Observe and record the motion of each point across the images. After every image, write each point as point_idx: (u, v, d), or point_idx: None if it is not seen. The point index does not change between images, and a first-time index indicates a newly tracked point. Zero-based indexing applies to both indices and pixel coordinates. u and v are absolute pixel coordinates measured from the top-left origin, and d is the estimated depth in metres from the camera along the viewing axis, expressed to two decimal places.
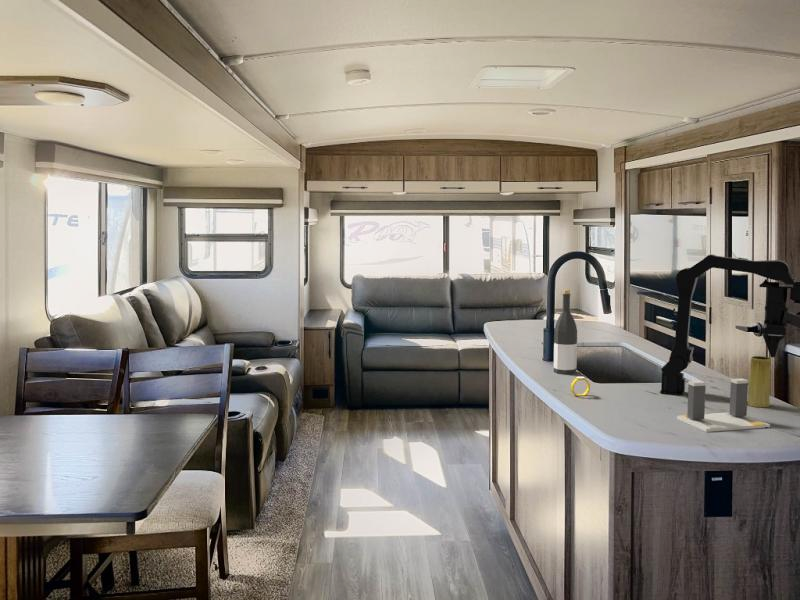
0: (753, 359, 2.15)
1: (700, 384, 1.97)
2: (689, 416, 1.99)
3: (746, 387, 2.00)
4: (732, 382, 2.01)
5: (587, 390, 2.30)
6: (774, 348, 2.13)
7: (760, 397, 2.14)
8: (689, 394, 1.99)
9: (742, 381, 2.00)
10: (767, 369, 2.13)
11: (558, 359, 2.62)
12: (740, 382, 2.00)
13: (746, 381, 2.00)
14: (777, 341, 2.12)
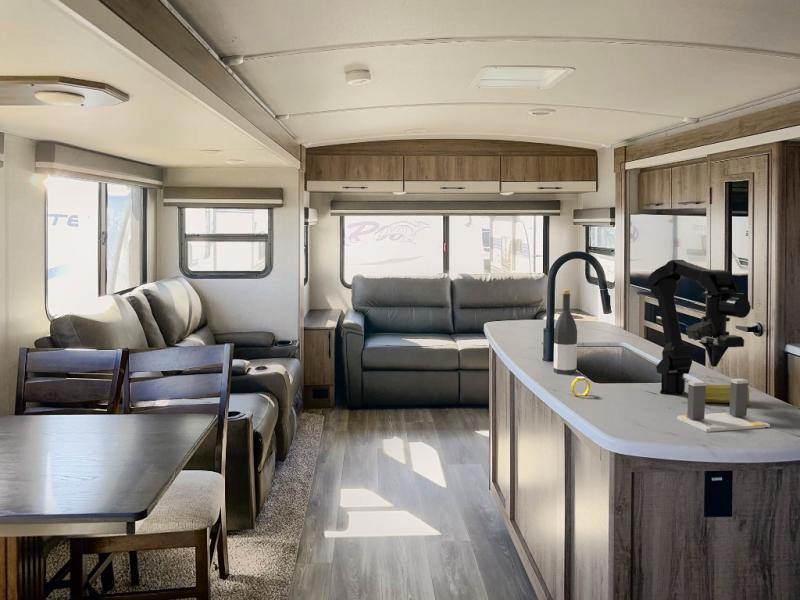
0: None
1: (700, 384, 1.97)
2: (689, 416, 1.99)
3: (746, 387, 2.00)
4: (732, 382, 2.01)
5: (587, 390, 2.30)
6: None
7: None
8: (689, 394, 1.99)
9: (742, 381, 2.00)
10: (707, 390, 2.18)
11: (558, 359, 2.62)
12: (740, 382, 2.00)
13: (746, 381, 2.00)
14: None
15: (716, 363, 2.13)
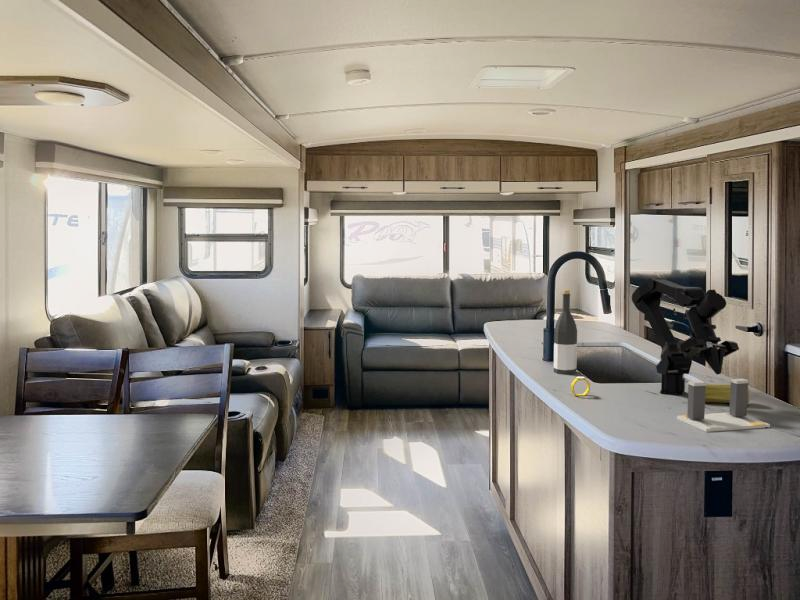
0: None
1: (700, 384, 1.97)
2: (689, 416, 1.99)
3: (746, 387, 2.00)
4: (732, 382, 2.01)
5: (587, 390, 2.30)
6: None
7: None
8: (689, 394, 1.99)
9: (742, 381, 2.00)
10: (707, 390, 2.18)
11: (558, 359, 2.62)
12: (740, 382, 2.00)
13: (746, 381, 2.00)
14: None
15: (716, 370, 2.10)
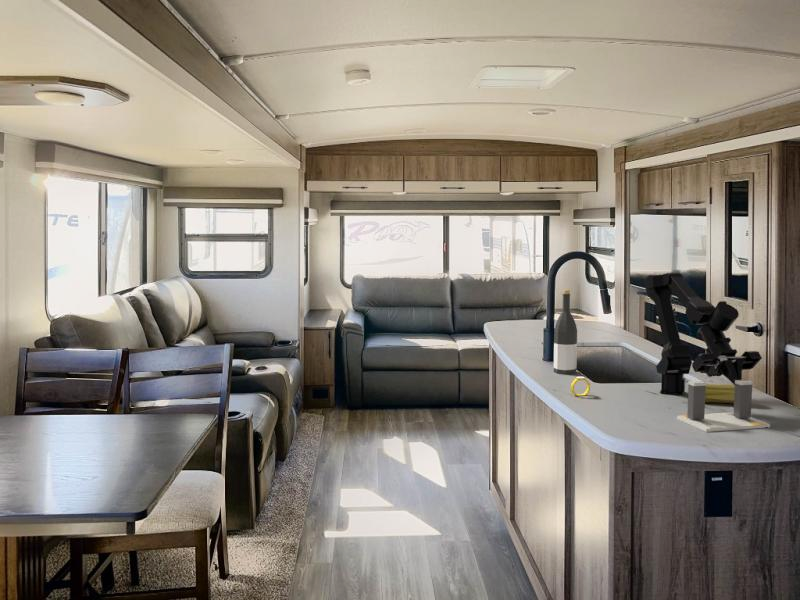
0: None
1: (700, 384, 1.97)
2: (689, 416, 1.99)
3: (750, 388, 1.98)
4: (736, 383, 1.99)
5: (587, 390, 2.30)
6: None
7: None
8: (689, 394, 1.99)
9: (746, 382, 1.98)
10: (707, 390, 2.18)
11: (558, 359, 2.62)
12: (744, 383, 1.98)
13: (750, 382, 1.98)
14: None
15: None
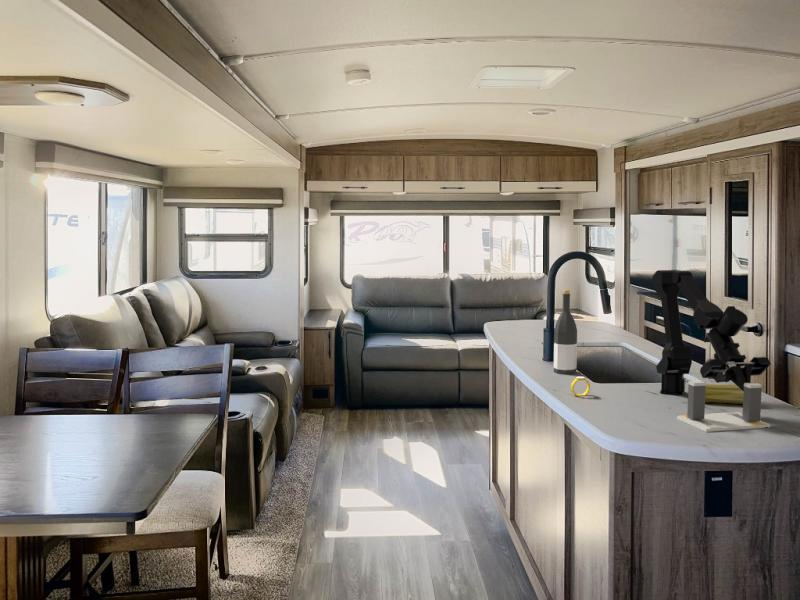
0: None
1: (700, 384, 1.97)
2: (689, 416, 1.99)
3: (760, 392, 1.95)
4: (745, 386, 1.96)
5: (587, 390, 2.30)
6: None
7: (737, 396, 2.16)
8: (689, 394, 1.99)
9: (756, 385, 1.94)
10: (707, 390, 2.18)
11: (558, 359, 2.62)
12: (754, 386, 1.94)
13: (760, 385, 1.95)
14: None
15: None
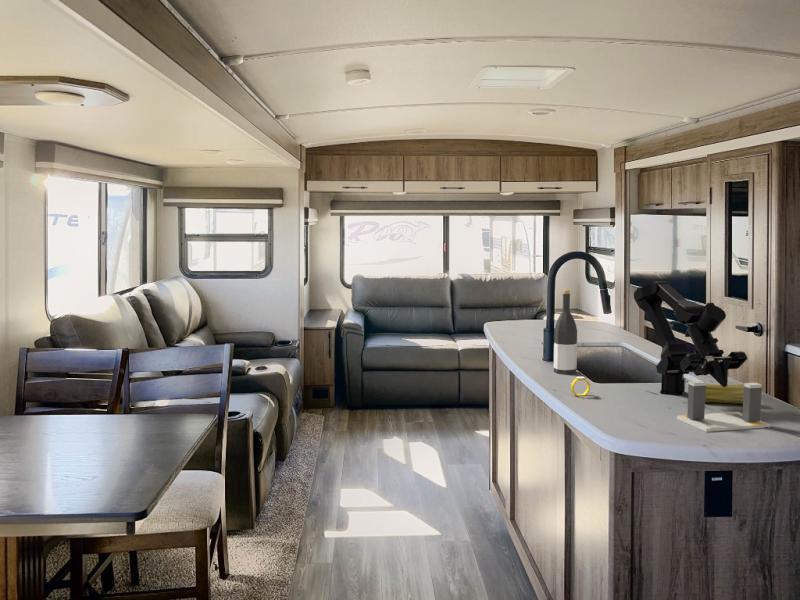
0: None
1: (700, 384, 1.97)
2: (689, 416, 1.99)
3: (760, 392, 1.95)
4: (745, 386, 1.96)
5: (587, 390, 2.30)
6: None
7: (737, 396, 2.16)
8: (689, 394, 1.99)
9: (756, 385, 1.94)
10: (707, 390, 2.18)
11: (558, 359, 2.62)
12: (754, 386, 1.94)
13: (760, 385, 1.95)
14: None
15: (722, 382, 2.07)
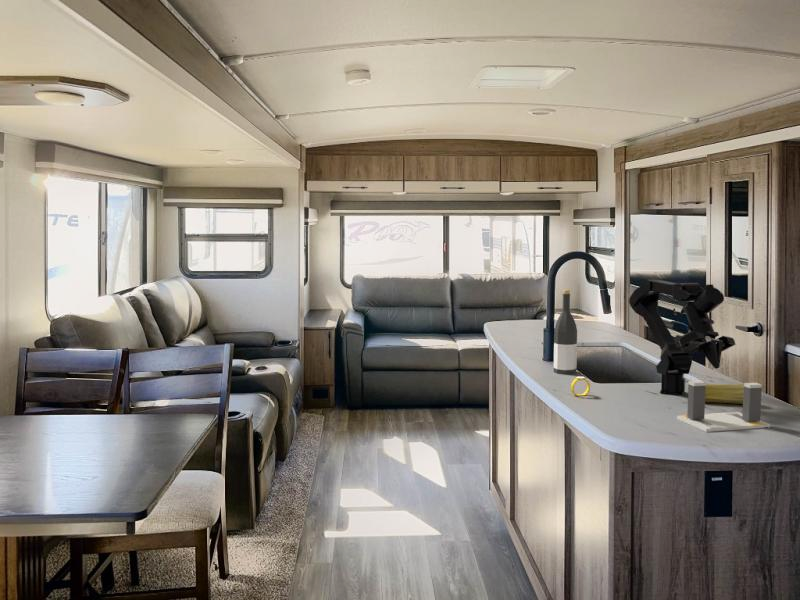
0: None
1: (700, 384, 1.97)
2: (689, 416, 1.99)
3: (760, 392, 1.95)
4: (745, 386, 1.96)
5: (587, 390, 2.30)
6: None
7: (737, 396, 2.16)
8: (689, 394, 1.99)
9: (756, 385, 1.94)
10: (707, 390, 2.18)
11: (558, 359, 2.62)
12: (754, 386, 1.94)
13: (760, 385, 1.95)
14: None
15: (715, 364, 2.11)
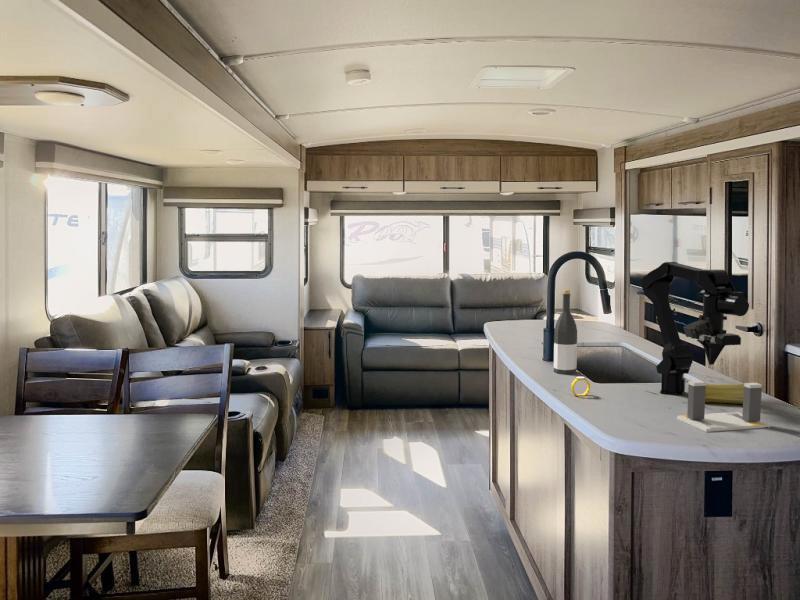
0: None
1: (700, 384, 1.97)
2: (689, 416, 1.99)
3: (760, 392, 1.95)
4: (745, 386, 1.96)
5: (587, 390, 2.30)
6: None
7: (737, 396, 2.16)
8: (689, 394, 1.99)
9: (756, 385, 1.94)
10: (707, 390, 2.18)
11: (558, 359, 2.62)
12: (754, 386, 1.94)
13: (760, 385, 1.95)
14: None
15: (713, 361, 2.17)
